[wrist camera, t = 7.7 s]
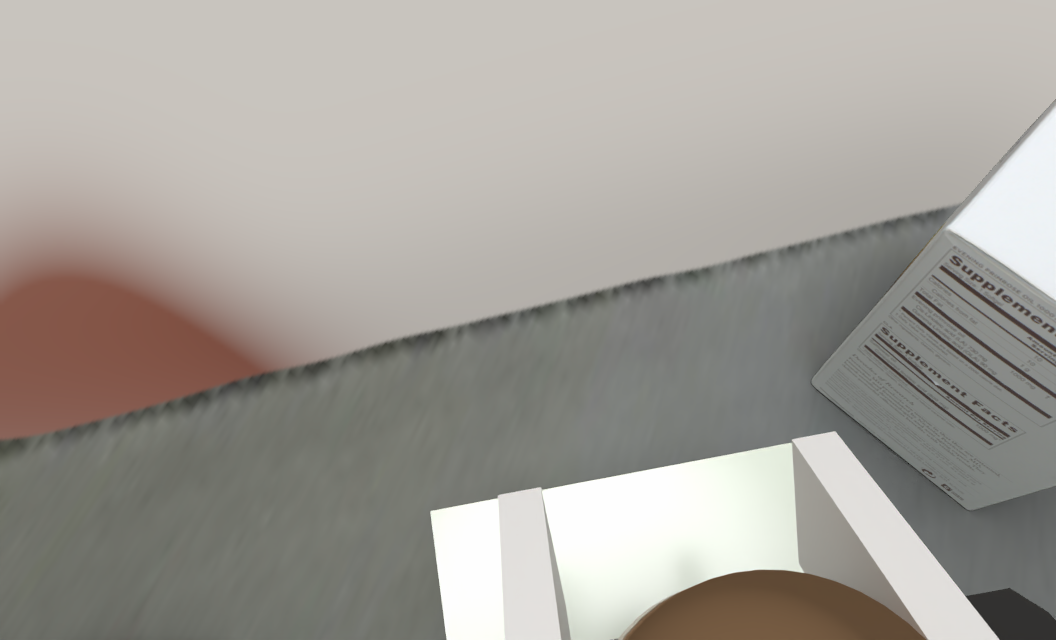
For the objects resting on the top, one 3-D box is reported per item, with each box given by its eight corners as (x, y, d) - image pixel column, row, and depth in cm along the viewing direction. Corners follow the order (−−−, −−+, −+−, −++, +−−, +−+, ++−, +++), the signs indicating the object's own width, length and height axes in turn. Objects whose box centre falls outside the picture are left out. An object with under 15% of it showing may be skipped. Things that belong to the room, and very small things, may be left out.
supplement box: (919, 253, 41) (1118, 24, 26) (1086, 370, 38) (1424, 193, 23) (802, 386, 39) (940, 225, 24) (969, 519, 36) (1251, 438, 21)
